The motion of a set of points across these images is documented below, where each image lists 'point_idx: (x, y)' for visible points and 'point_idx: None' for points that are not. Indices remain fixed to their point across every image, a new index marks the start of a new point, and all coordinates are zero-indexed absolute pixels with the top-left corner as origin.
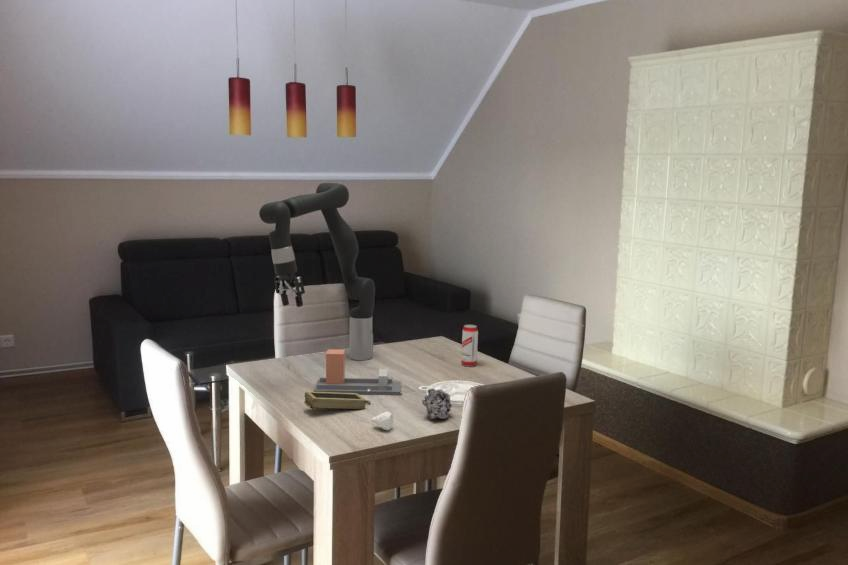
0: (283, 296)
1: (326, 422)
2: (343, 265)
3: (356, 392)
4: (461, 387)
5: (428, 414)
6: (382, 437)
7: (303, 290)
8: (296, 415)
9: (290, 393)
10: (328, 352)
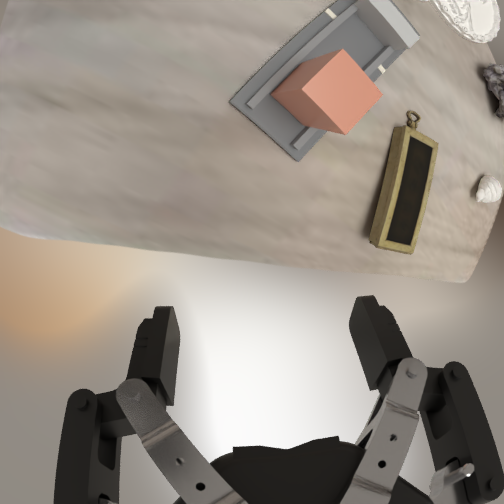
0: (170, 391)
1: (420, 235)
2: None
3: None
4: None
5: (499, 113)
6: (486, 208)
7: (465, 386)
8: (368, 258)
9: (256, 202)
10: (337, 116)
